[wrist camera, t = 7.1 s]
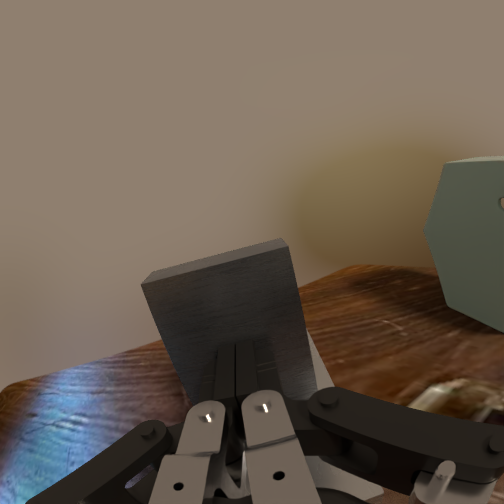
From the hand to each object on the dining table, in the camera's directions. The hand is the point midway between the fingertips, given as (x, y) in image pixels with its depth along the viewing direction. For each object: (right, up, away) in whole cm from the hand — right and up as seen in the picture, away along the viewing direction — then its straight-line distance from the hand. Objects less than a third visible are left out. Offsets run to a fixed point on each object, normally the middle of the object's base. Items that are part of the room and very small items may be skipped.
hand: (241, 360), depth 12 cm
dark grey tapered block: (+1, -4, +7) cm, 8 cm away
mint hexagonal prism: (+30, -2, +13) cm, 32 cm away
